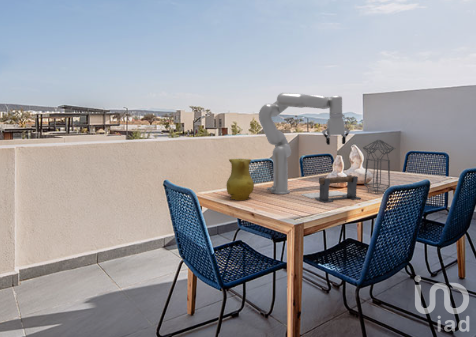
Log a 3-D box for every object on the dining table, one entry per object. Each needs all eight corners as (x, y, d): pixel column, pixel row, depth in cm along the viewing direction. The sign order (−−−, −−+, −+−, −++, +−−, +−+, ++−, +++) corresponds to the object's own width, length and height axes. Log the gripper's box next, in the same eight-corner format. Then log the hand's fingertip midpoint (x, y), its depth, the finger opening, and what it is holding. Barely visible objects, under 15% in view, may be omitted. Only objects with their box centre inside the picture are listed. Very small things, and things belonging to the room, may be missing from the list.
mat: (310, 198, 220) (310, 197, 220) (300, 195, 231) (300, 194, 231) (348, 194, 230) (348, 194, 230) (337, 191, 241) (337, 190, 241)
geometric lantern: (359, 191, 241) (361, 139, 237) (378, 189, 246) (380, 138, 242) (375, 195, 227) (377, 140, 222) (395, 193, 231) (397, 139, 227)
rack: (324, 202, 208) (325, 179, 206) (315, 199, 217) (315, 177, 216) (360, 198, 217) (361, 176, 216) (350, 195, 227) (350, 174, 225)
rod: (323, 184, 210) (323, 178, 210) (319, 183, 214) (319, 177, 213) (356, 182, 219) (356, 176, 218) (352, 181, 222) (352, 175, 221)
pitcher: (221, 199, 217) (222, 158, 215) (232, 195, 235) (233, 157, 233) (248, 202, 212) (249, 160, 210) (257, 197, 229) (259, 158, 227)
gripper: (347, 116, 224) (347, 143, 226) (320, 117, 223) (320, 144, 225) (351, 115, 217) (351, 144, 219) (323, 116, 216) (324, 145, 218)
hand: (335, 144), depth 222 cm, fingers open, 9 cm apart
